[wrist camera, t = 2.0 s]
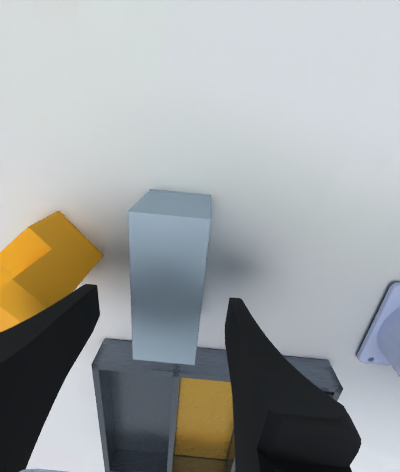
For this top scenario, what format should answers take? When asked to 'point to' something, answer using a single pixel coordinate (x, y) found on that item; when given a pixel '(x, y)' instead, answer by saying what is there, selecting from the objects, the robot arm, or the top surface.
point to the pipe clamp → (42, 268)
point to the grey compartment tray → (174, 409)
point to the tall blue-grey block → (167, 273)
